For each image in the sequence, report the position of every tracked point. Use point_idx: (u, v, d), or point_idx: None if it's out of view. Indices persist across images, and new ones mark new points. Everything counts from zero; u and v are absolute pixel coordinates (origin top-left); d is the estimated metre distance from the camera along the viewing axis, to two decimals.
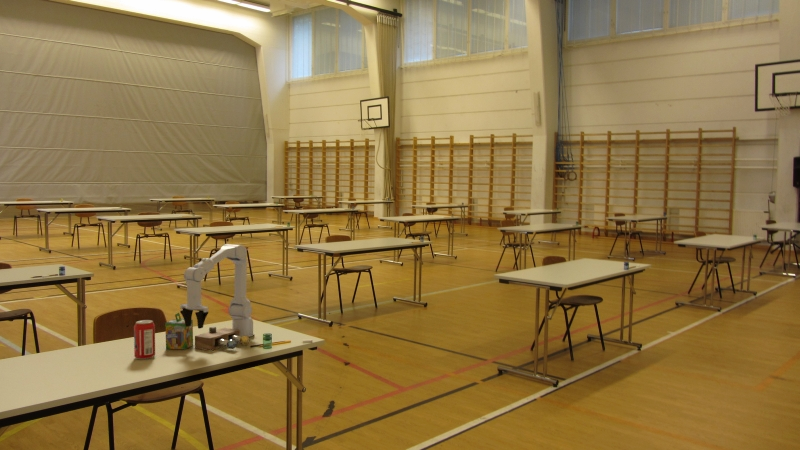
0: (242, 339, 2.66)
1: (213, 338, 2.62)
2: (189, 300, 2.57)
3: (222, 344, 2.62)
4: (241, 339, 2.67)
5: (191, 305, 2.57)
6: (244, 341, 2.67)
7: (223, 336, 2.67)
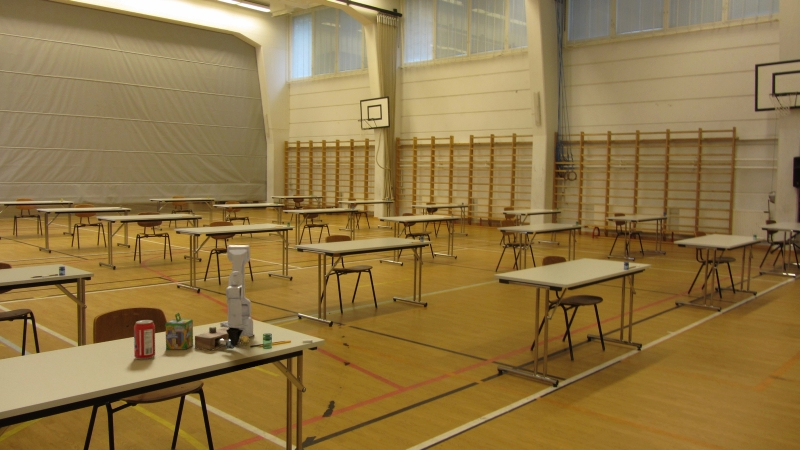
0: (242, 339, 2.66)
1: (213, 338, 2.62)
2: (230, 319, 2.57)
3: (221, 344, 2.62)
4: (241, 339, 2.67)
5: (232, 324, 2.57)
6: (244, 341, 2.67)
7: (223, 336, 2.67)
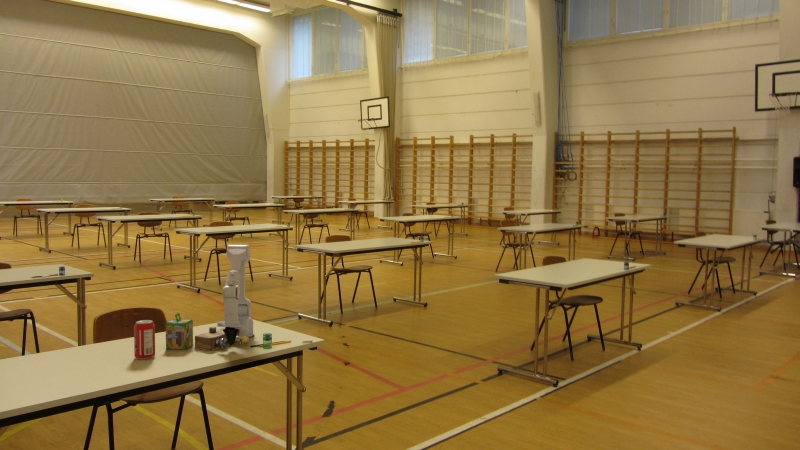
0: (242, 339, 2.66)
1: (213, 338, 2.62)
2: (226, 318, 2.58)
3: None
4: (241, 339, 2.67)
5: (228, 323, 2.58)
6: (244, 341, 2.67)
7: (223, 336, 2.67)
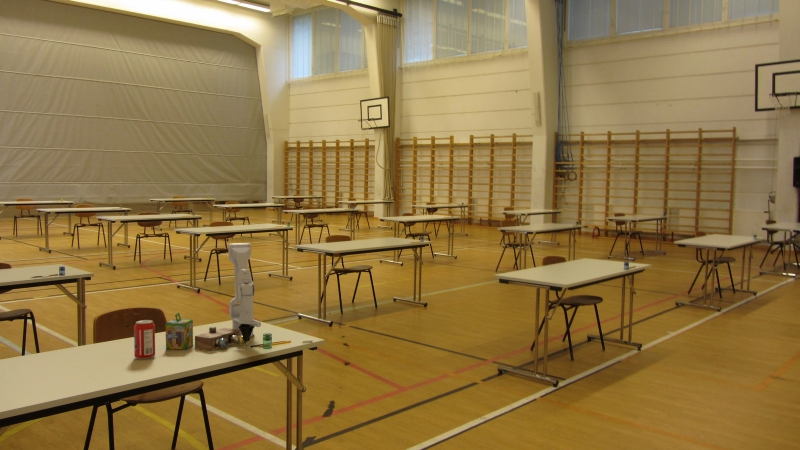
0: (240, 339, 2.67)
1: (213, 338, 2.62)
2: (242, 315, 2.64)
3: None
4: (239, 339, 2.67)
5: (244, 320, 2.64)
6: (242, 341, 2.67)
7: (223, 336, 2.67)
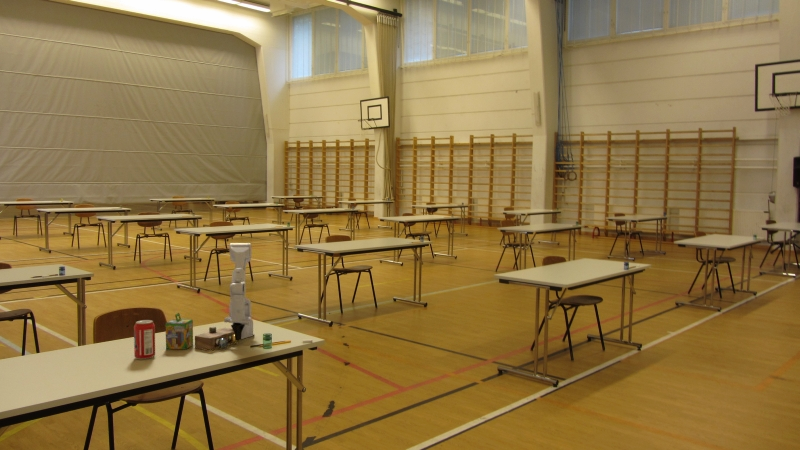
0: (233, 338, 2.69)
1: (213, 338, 2.62)
2: (233, 314, 2.67)
3: None
4: (232, 338, 2.69)
5: (235, 319, 2.67)
6: (235, 340, 2.69)
7: (223, 336, 2.67)
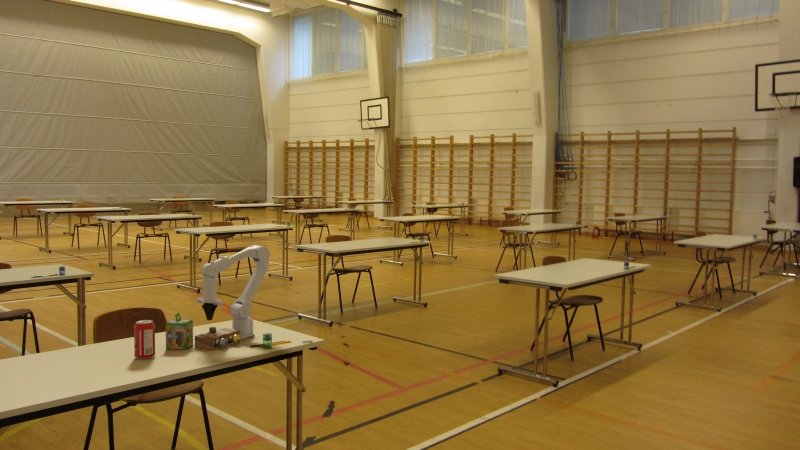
0: (233, 338, 2.69)
1: (213, 338, 2.62)
2: (205, 294, 2.72)
3: None
4: (232, 338, 2.69)
5: (207, 299, 2.72)
6: (235, 340, 2.69)
7: (223, 336, 2.67)
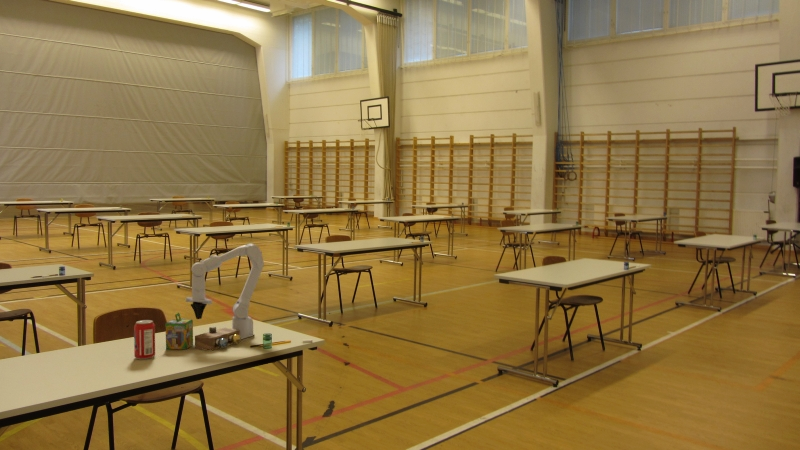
0: (233, 338, 2.69)
1: (213, 338, 2.62)
2: (194, 293, 2.75)
3: None
4: (232, 338, 2.69)
5: (196, 298, 2.75)
6: (235, 340, 2.69)
7: (223, 336, 2.67)
